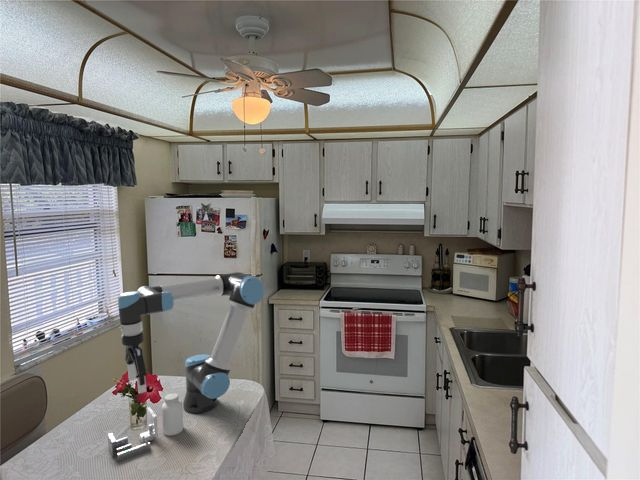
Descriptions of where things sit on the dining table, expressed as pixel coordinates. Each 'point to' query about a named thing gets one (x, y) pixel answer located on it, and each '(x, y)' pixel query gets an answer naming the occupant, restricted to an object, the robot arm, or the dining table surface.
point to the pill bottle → (172, 415)
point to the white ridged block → (124, 447)
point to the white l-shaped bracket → (150, 427)
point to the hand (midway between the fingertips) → (137, 385)
